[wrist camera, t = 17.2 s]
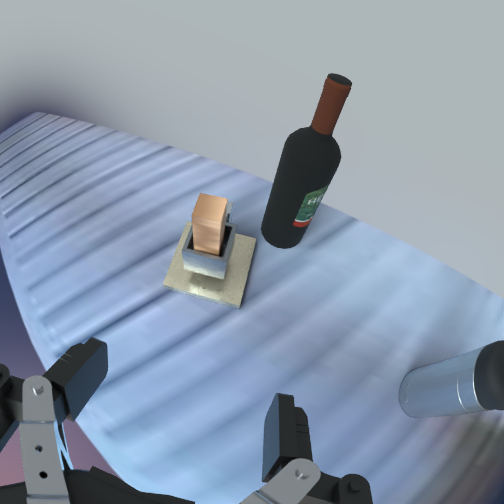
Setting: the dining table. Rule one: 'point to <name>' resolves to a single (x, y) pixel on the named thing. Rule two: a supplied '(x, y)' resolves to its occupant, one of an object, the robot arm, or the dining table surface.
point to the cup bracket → (212, 266)
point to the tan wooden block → (209, 224)
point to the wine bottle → (305, 169)
